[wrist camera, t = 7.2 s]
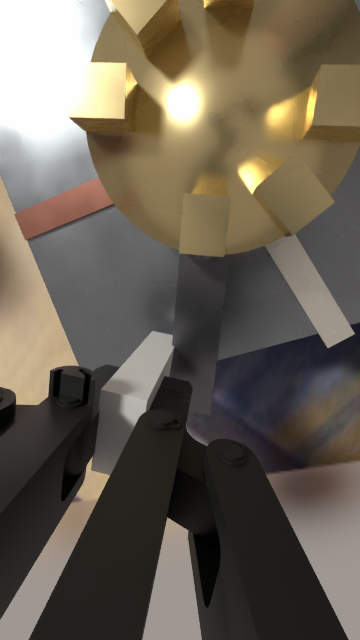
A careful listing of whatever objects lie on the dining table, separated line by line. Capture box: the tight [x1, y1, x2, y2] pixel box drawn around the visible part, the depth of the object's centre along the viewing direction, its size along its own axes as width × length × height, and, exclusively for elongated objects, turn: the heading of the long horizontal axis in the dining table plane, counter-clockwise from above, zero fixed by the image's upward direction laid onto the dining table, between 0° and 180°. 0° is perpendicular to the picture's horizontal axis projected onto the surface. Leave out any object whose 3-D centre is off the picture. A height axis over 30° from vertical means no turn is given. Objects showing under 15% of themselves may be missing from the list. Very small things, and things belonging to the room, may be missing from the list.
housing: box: [0, 0, 360, 371], centre depth 16 cm, size 22×21×4 cm
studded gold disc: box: [68, 0, 360, 415], centre depth 12 cm, size 17×10×4 cm, turn 175°
